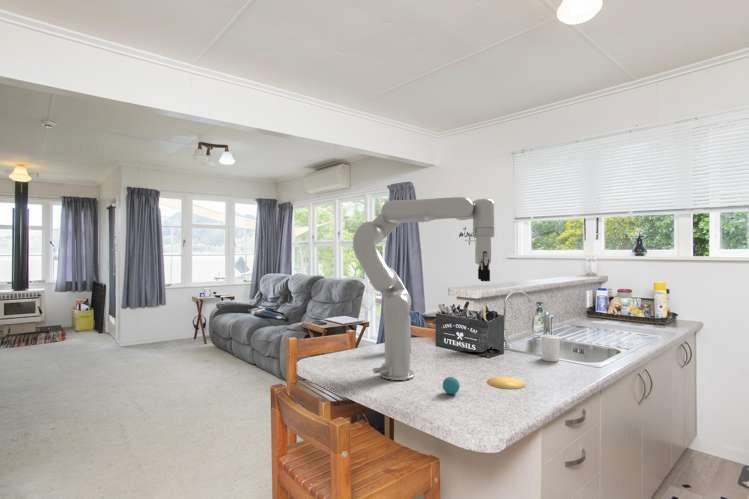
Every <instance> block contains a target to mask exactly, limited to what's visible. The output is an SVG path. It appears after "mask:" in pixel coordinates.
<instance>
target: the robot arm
mask: <svg viewBox="0 0 749 499" xmlns="http://www.w3.org/2000/svg"><path fill="white" fill-rule="evenodd" d="M445 219H446V220H447V219H451V220H452V219H456V220H458V221H466V220H472V237H473V238H475V247H474V248H475V249H474V250H475V253H474V254H475V255H474V256H475V257H474V263H475V265H476V264H477V265H478V269H477V279H478V280H480V281H481V282H491V270H490V269H491V268H490V264H491V263H492V262H491V261H492V238H495V202H494V200H493V199H491V198H477V199H475V200H474V201H472V200H471V199H469V198H467V197H463V196H462V197H461V196H457V197H455V196H453V197H452V196H451V197H438V198H437V197H436V198H420V199H400V200H399V199H398V200H397V199H396V200H388V201H386V202H384V204H383V205H382V207H381V210H380V214H378V216H377V217H375V218H374V220H373V219H372V221H365V222H363V223H361V224H360V225H359V226H358V227H357V229H356V231H355V233H354V236H353V238H352V239H353V240H352V247H353V251H354V255H355V256H356V258H357V260H358V262H359V264H360V265H361V268H362V270H363V271H364V274H365V275H366V276H367V278H368V280H369V283H370V284H371V286H372V288H373V289H374V290H375V291H377V292H380V294H381V295H382V297H383V298H384V302H383V310H382V311H383V323H384V327H383V328H384V363H382V364H381V366H380V367H374V368H372V372H373V374H380V377H381V376H382V377H383V379H384V378H386V379H385V380H387V379H391V380H390V381H393V380H403V381H408V380H407V379H409V380H411V378H412V379H413V378H414V377H415V372H414V371H413V370H411V354H410V319H409V316H410V309H411V306H412V298H411V295H410V293H409V292H408V289H407V288H406V287H405V285H404V283H403V282H402V280H401V279H400V276H399V275H398V274H397V272H396V271H395V270H394V269H393V268H392V267H389V266H388V265H387V263H386V262H385V260H384V258H383V257H382V256H383V255H381V253H380V251H379V249H378V248H377V244H380V243H381V242H382V241H383V240H385V239H386V238H387V237H388V236H389V235H390V234H391V233H392V232H393V231H394V230H395V229H396V228H397V227H398V226H399V225H400V224H405V223H428V222H430V221H435V220H445ZM382 377H381V378H382Z"/></svg>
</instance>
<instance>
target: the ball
mask: <svg viewBox="0 0 749 499" xmlns="http://www.w3.org/2000/svg"><path fill="white" fill-rule="evenodd" d="M460 387H461V386H460V381H459V380H458V379H457V378H456V377H453V376H448V377H445V379H443V382H442V389H443V391H444V393H446V394H447V395H455V394H457V393H458V392H459V391H460Z"/></svg>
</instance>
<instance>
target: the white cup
mask: <svg viewBox="0 0 749 499" xmlns="http://www.w3.org/2000/svg"><path fill="white" fill-rule="evenodd" d="M539 338H540V352H541V359H542V360H543V361H546V362H559V360H560V351H561V350H560V346H561V336H559V335H556V334H548V333H547V334H540V336H539Z"/></svg>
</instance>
